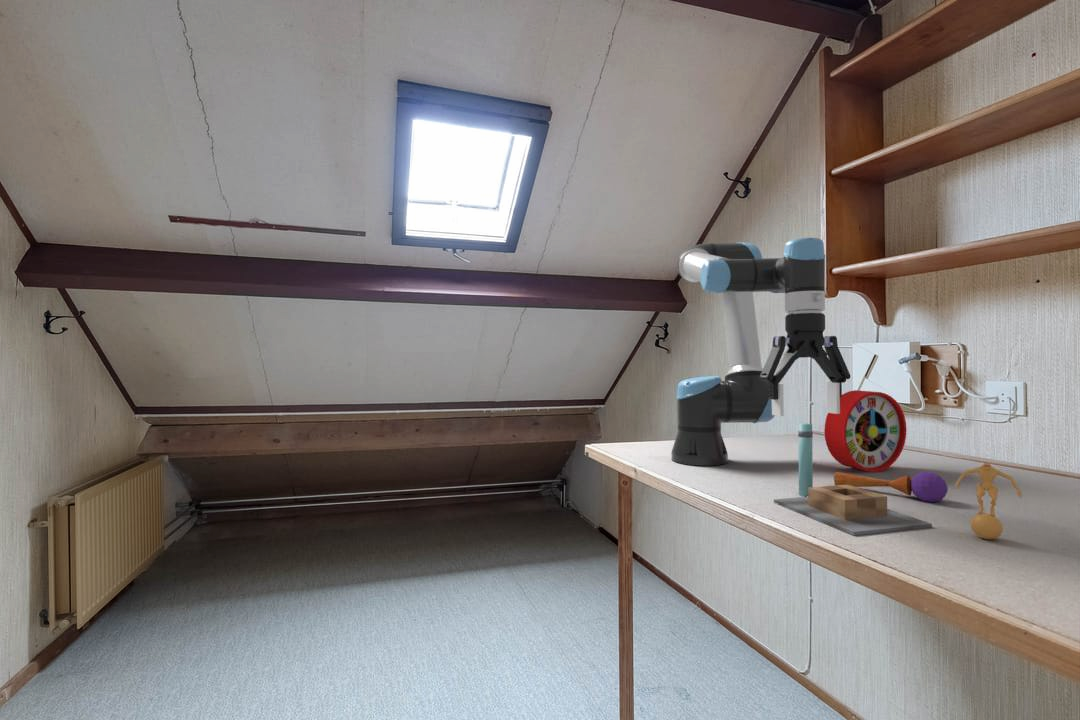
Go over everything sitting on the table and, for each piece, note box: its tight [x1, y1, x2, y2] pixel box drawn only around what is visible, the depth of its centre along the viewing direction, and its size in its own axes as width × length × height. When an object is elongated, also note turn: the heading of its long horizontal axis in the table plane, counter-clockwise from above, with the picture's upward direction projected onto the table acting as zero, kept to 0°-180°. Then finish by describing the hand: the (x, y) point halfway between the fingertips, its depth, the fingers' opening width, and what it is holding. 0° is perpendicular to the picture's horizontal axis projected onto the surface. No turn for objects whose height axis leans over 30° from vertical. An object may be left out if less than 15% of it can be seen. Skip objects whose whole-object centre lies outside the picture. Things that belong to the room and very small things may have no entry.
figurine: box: [954, 461, 1023, 540], centre depth 86 cm, size 8×6×12 cm
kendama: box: [833, 471, 948, 503], centre depth 112 cm, size 6×6×20 cm
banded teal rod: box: [797, 422, 814, 497], centre depth 112 cm, size 3×3×15 cm
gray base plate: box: [773, 484, 933, 536], centre depth 99 cm, size 20×16×4 cm
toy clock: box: [823, 389, 908, 473], centre depth 134 cm, size 20×6×20 cm, turn 106°
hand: (805, 414), depth 111 cm, fingers open, 13 cm apart
